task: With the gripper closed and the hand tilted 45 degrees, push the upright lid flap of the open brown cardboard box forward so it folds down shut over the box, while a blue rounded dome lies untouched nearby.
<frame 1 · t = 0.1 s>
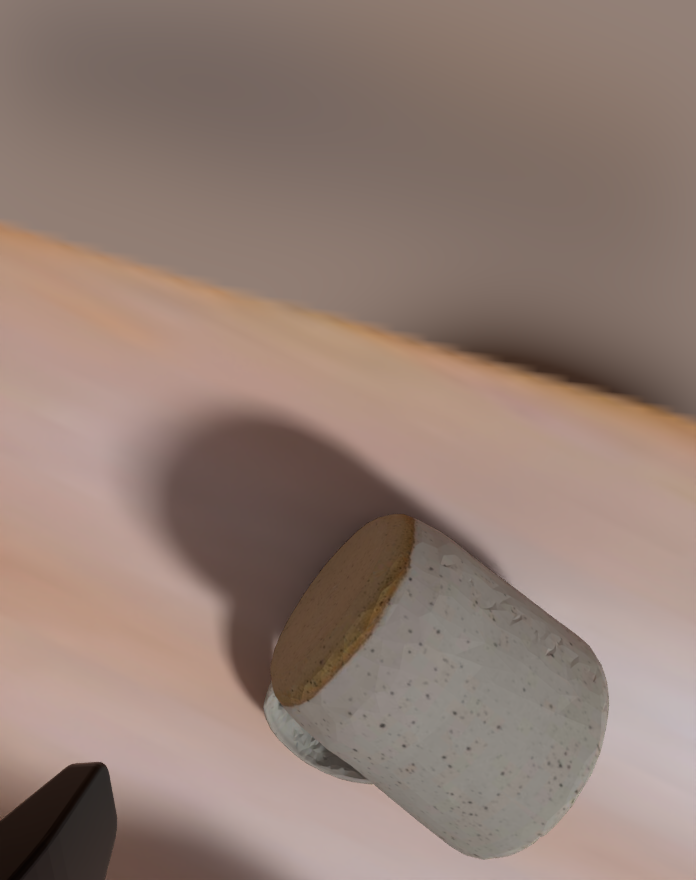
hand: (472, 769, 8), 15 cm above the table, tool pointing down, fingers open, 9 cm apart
ceramic mug: (396, 635, 24), on the table
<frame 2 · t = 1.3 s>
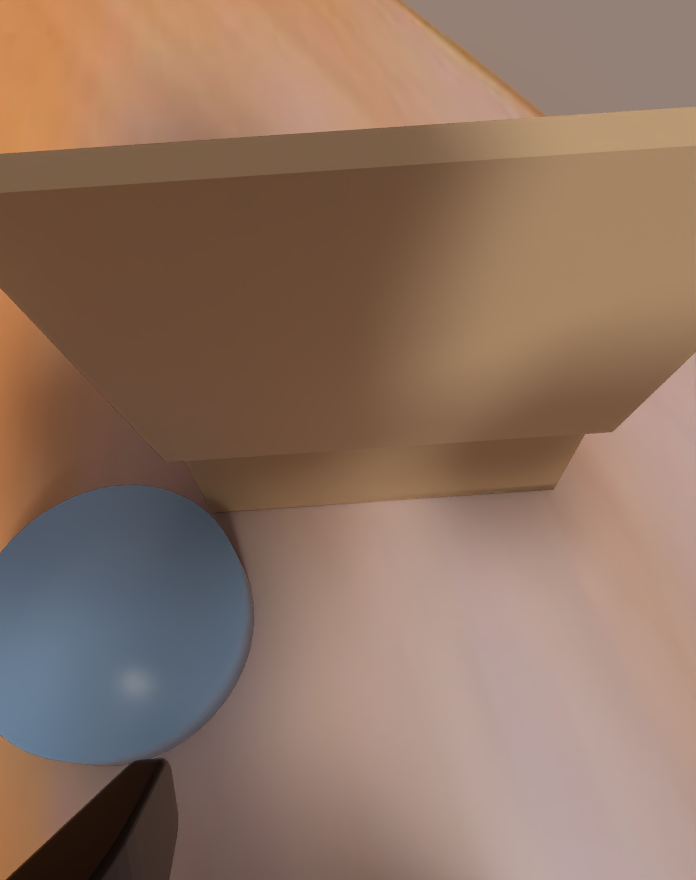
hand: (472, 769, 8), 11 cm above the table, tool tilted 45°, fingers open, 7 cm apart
carton: (371, 384, 25), on the table
blue rounded dome: (132, 628, 20), on the table
lid flap: (397, 346, 12), point 10 cm above the table, hinge at 100.0°
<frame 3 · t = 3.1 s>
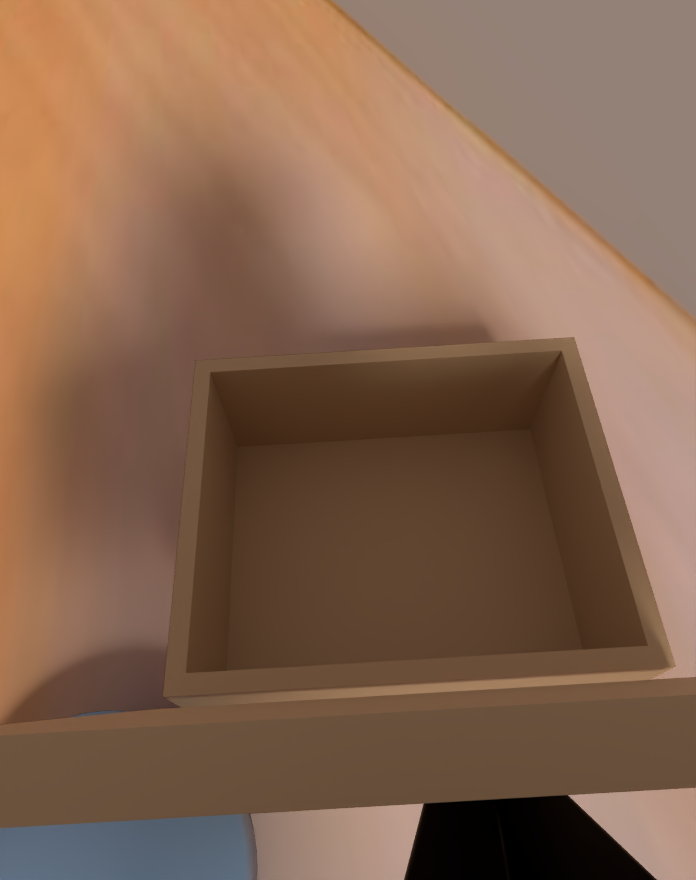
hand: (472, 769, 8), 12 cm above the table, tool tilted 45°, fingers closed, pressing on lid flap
carton: (394, 555, 22), on the table
lid flap: (452, 718, 9), point 10 cm above the table, hinge at 99.7°, touching gripper
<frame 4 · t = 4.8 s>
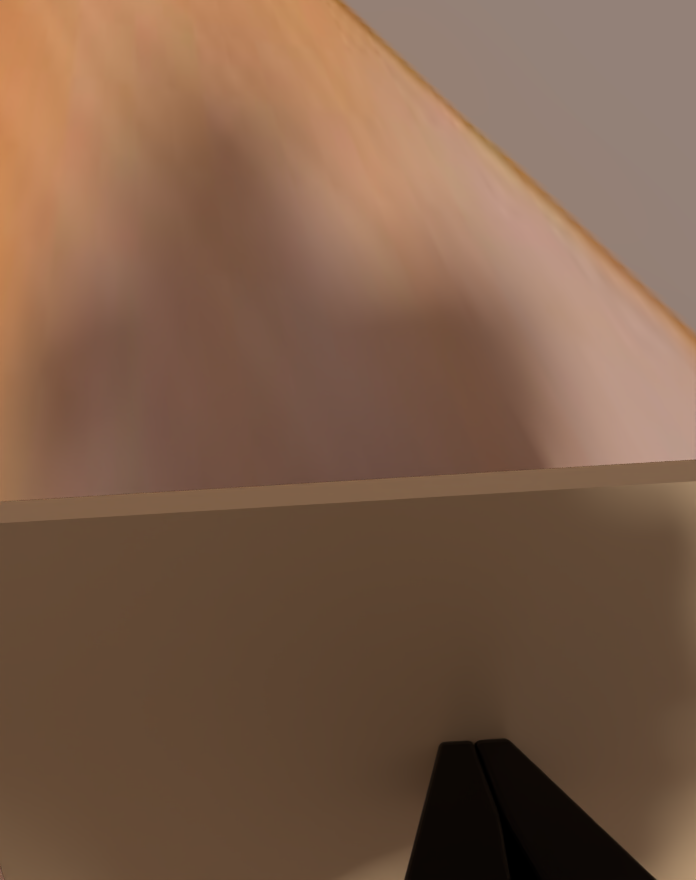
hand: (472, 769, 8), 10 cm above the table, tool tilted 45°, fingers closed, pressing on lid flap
lid flap: (469, 834, 8), point 9 cm above the table, hinge at 46.9°, touching gripper
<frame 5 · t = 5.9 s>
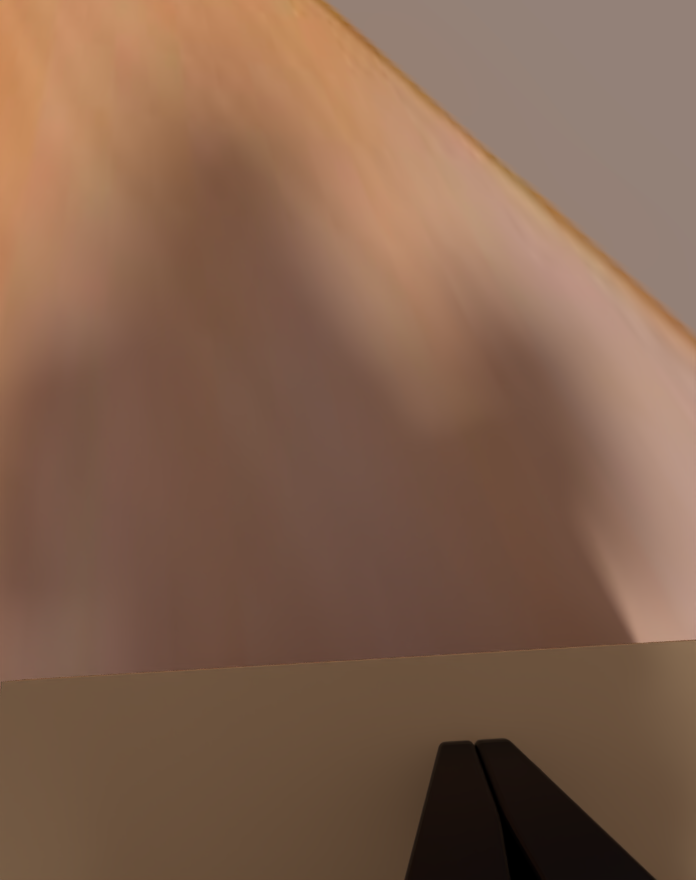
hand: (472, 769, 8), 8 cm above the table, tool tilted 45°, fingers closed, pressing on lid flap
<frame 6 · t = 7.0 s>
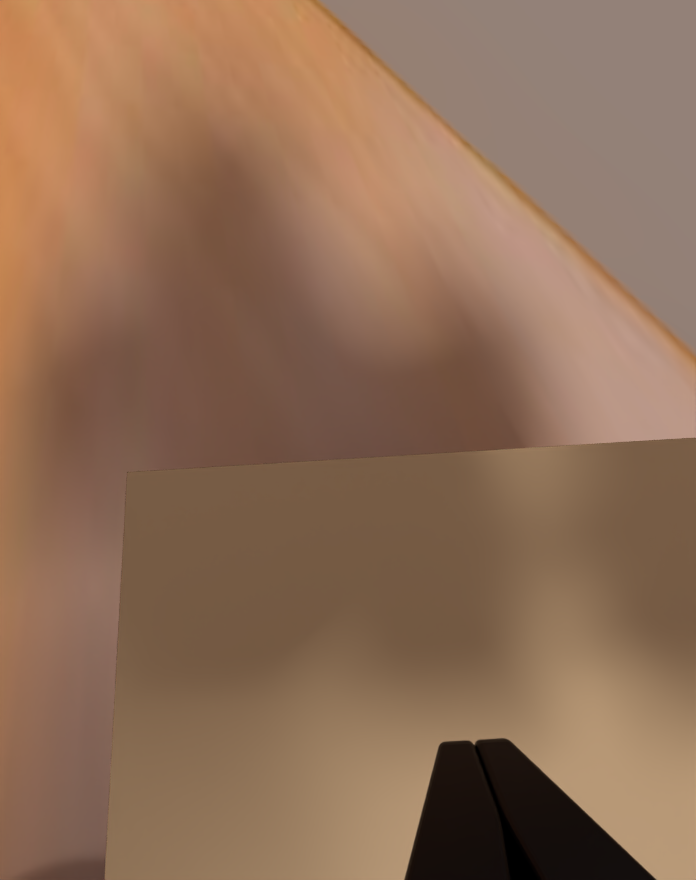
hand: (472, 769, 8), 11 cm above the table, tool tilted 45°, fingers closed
lid flap: (432, 710, 12), point 7 cm above the table, hinge at 11.9°
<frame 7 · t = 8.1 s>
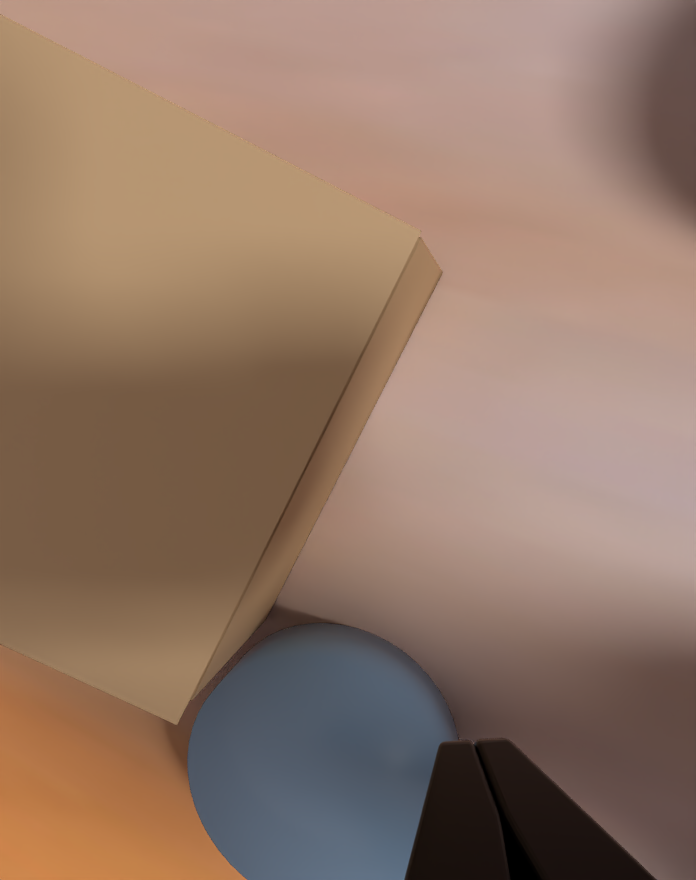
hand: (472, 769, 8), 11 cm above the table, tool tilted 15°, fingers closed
carton: (209, 381, 20), on the table
blue rounded dome: (335, 738, 20), on the table
lid flap: (73, 393, 13), point 7 cm above the table, hinge at 11.9°
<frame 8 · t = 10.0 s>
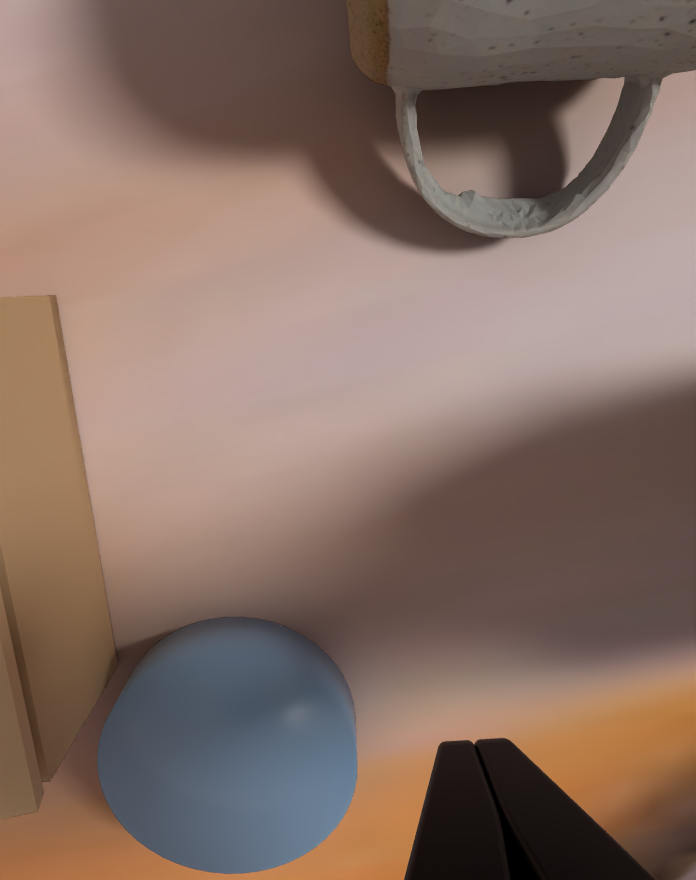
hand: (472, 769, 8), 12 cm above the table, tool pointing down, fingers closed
blue rounded dome: (239, 717, 22), on the table
ceramic mug: (505, 23, 17), on the table
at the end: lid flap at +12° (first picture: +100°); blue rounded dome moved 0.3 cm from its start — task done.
